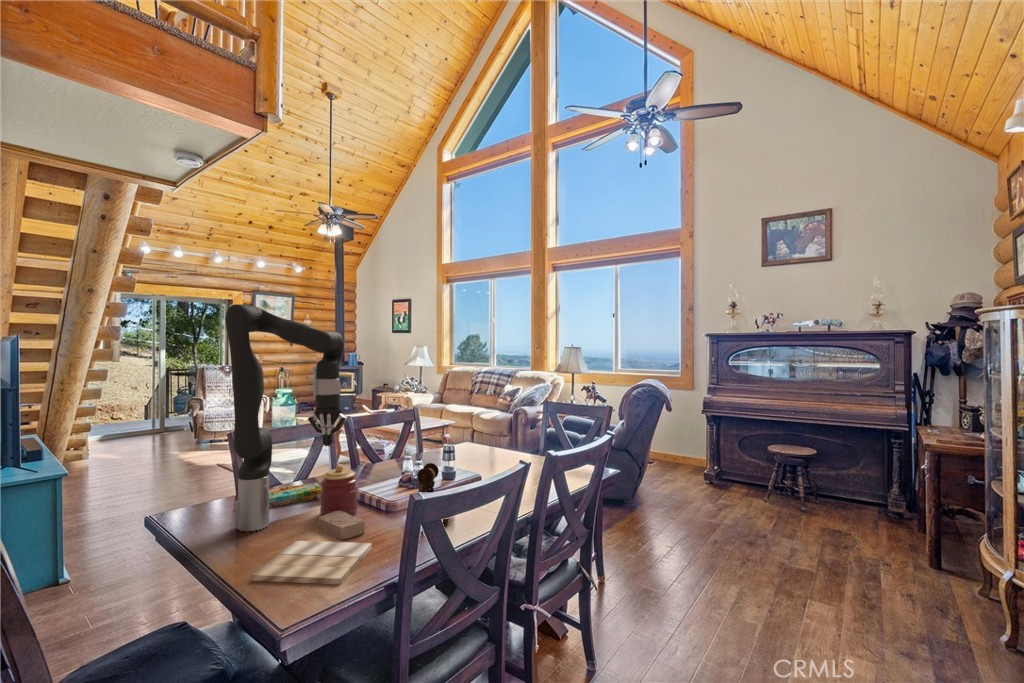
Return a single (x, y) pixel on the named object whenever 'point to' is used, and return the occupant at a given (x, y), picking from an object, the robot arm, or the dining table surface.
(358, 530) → the brick
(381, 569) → the dining table surface
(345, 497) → the canister
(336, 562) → the oak floor boards
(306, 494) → the puzzle game
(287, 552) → the ash plank
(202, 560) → the dining table surface
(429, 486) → the dark brown upright piece
